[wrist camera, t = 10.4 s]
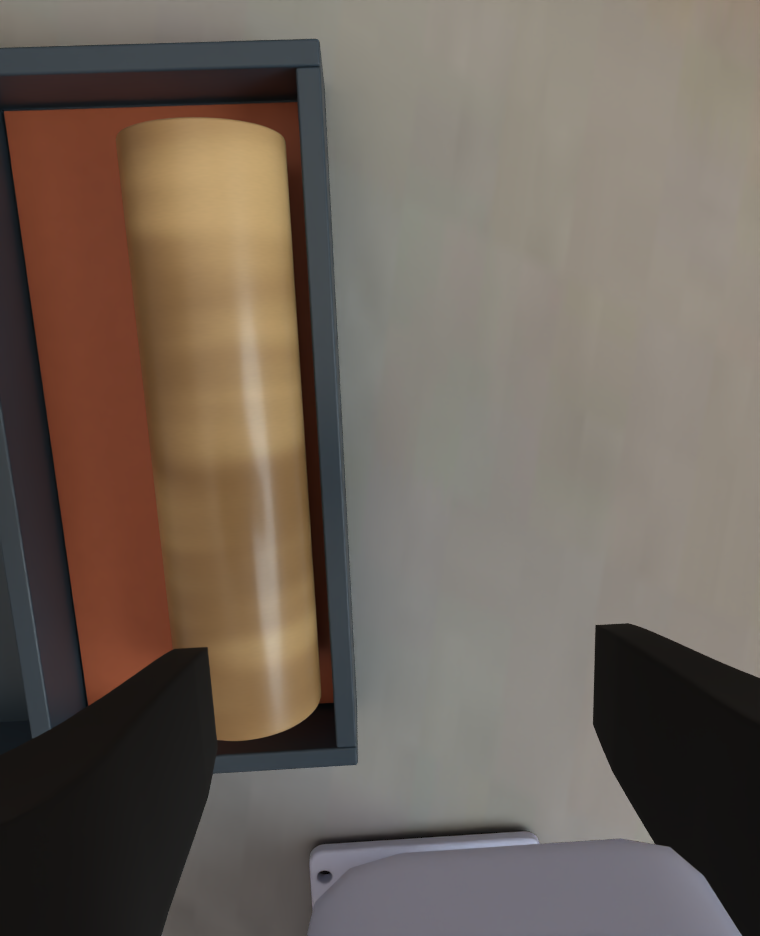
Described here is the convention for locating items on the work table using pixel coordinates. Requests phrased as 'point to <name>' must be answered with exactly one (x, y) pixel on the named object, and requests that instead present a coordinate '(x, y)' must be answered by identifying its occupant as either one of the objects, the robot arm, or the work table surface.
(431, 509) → the work table surface
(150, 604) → the tray
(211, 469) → the rolling pin
